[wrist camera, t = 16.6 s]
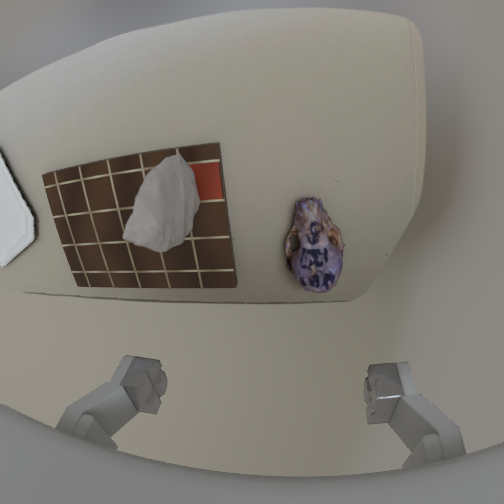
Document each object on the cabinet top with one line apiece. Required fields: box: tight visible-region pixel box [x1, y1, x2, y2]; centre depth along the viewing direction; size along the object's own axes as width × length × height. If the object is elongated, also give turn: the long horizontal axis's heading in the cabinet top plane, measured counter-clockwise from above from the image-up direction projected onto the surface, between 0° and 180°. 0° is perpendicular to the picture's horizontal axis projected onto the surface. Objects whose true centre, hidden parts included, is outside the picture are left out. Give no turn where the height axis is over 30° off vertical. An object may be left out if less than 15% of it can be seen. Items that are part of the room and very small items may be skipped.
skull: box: [285, 196, 344, 293], centre depth 38 cm, size 12×8×6 cm, turn 3°
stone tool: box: [123, 153, 200, 253], centre depth 31 cm, size 9×3×15 cm, turn 14°
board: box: [42, 142, 237, 289], centre depth 42 cm, size 28×20×1 cm
